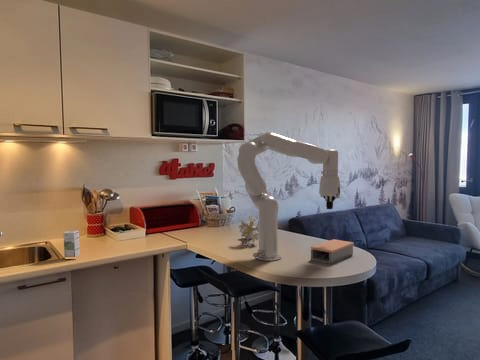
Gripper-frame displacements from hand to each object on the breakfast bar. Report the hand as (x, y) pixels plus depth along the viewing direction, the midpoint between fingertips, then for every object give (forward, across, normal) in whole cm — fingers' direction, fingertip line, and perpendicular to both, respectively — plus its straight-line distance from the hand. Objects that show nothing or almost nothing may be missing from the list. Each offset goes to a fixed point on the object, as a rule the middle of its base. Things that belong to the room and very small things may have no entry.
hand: (329, 208), depth 175 cm
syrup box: (+28, -93, -97) cm, 137 cm away
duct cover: (+18, +5, -4) cm, 19 cm away
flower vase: (+25, -50, -8) cm, 56 cm away
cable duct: (+24, +4, -4) cm, 24 cm away
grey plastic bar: (+24, +4, -4) cm, 24 cm away
